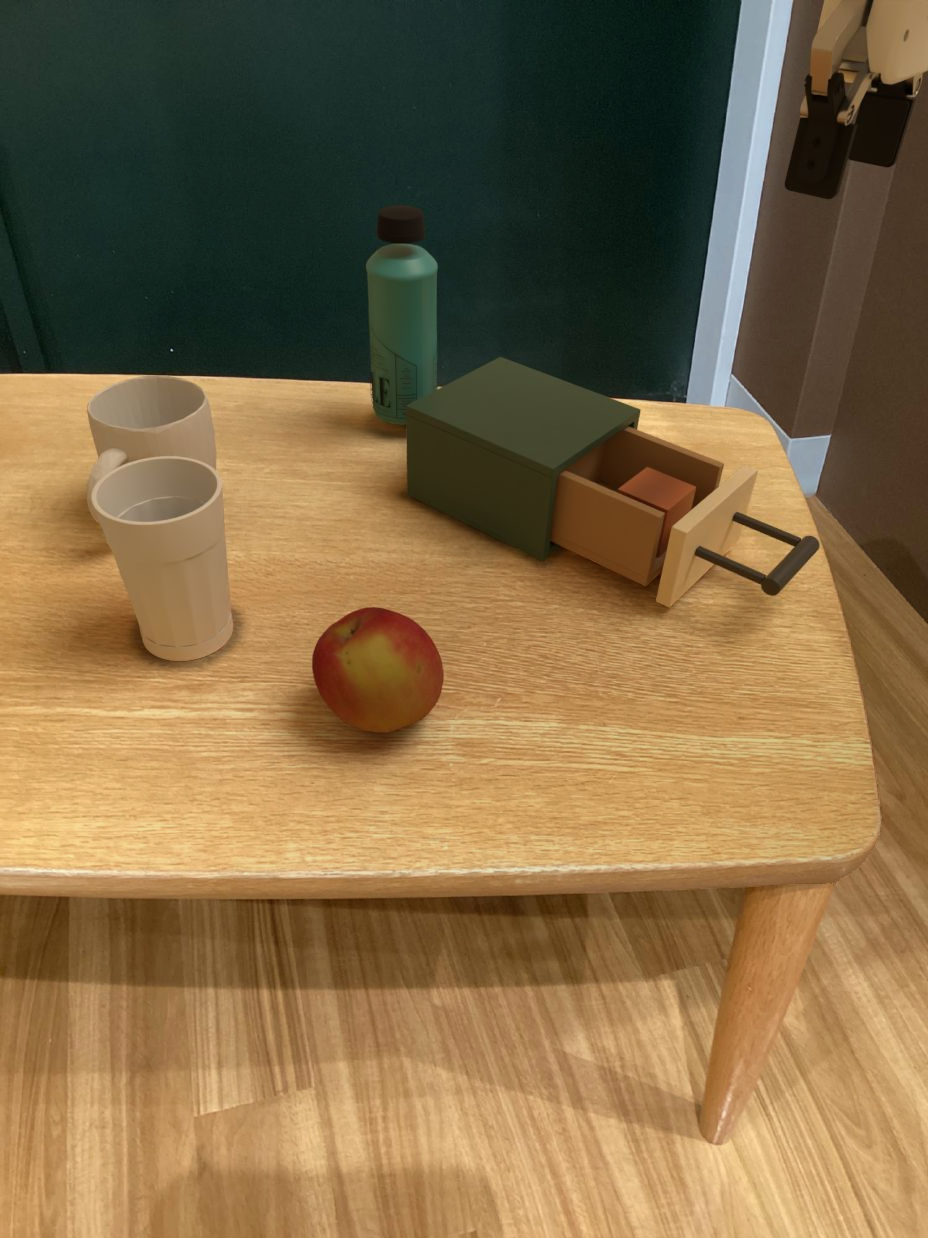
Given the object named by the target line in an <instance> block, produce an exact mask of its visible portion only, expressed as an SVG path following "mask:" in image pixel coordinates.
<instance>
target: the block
mask: <svg viewBox="0 0 928 1238" xmlns="http://www.w3.org/2000/svg"><path fill="white" fill-rule="evenodd" d="M695 491H696V486H693V485H691V484H688V483H686V482H683V481H681V480H678V479H676V478H674V477H671V476H669V475H666V474H664V473H661V472H659V471H656V470H654V469H651V468H649V467H646V468H645V469H644V470H642V471H641V472H640V473H638V474H637V475H636V476H634V477H633V478H632V479H630V480H629V481H628V482H626V483H625V484H624V485H622V486H621V487H620V488H618V491H617V493H619V494H622V495H624V496H626V497H629V498H631V499H633V500H636V501H638V502H640V503H643V504H645V505H647V506H650V507H652V508H654V509H657V510H659V511H661V512H664V513H665V515H664V520H663V525H662V530H661V534H660V539H659V544H658V549H657V554H656V557H660V556H661V555H662V554H663V553H664V552H665V551H666V550H667V547H668V542H669V538H670V533H671V528H672V526H673V525H674V524H676V523H677V522H678V521H679V520H680V519H681V518H683V517H684V516H685V515H686V514H687V513H688V512H690V511H691V508H692V504H693V499H694V495H695Z"/></svg>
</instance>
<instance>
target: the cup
mask: <svg viewBox="0 0 928 1238" xmlns="http://www.w3.org/2000/svg"><path fill="white" fill-rule="evenodd" d="M223 492H224V491H223V479H222V477H221V475H220V474H219V472H218V471H217V469H216V470H215V469H214V468H213V467H211V466H210V465H208V464H206V463H204V462H201V461H199V460H196V459H192V458H186V457H178V456H160V457H151V458H145V459H141V460H137V461H133V462H130V463H127V464H124V465H122V466H120V467H118V468H116V469H114V470H112V471H110V472H109V473H107V474H106V475H105V476H103V477H102V478H101V479H100V480H99V481H98V482H97V483H96V485H95V486H94V488H93V490H92V494H91V501H92V504H93V507H94V510H95V512H96V515H97V517H98V520H99V522H100V524H99V525H100V527H101V530H102V532H103V535H104V537H105V540H106V543H107V545H108V547H109V548H110V550H111V553H112V556H113V557H114V560H115V563H116V566H117V569H118V572H119V575H120V576H121V579H122V582H123V585H124V588H125V591H126V593H127V596H128V598H129V601H130V604H131V606H132V609H133V612H134V614H135V618H136V620H137V622H138V627H139V632H140V636H141V639H142V643H143V646H144V647H145V649H146V650H147V651H148V652H149V653H150V654H152V655H153V656H155V657H157V658H159V659H161V660H166V661H172V662H188V661H193V660H198V659H201V658H205V657H208V656H209V655H211V654H212V655H213V653H216V652H217V651H218V650H220V649H221V648H222V647H224V646H225V645H226V644H227V643H228V641H229V640H230V638H231V636H232V635H233V632H234V620H233V616H232V608H231V606H232V605H231V594H230V593H231V592H230V581H229V567H228V553H227V552H228V551H227V539H226V528H225V526H226V525H225V512H224V511H225V510H224V494H223Z"/></svg>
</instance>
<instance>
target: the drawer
mask: <svg viewBox="0 0 928 1238" xmlns="http://www.w3.org/2000/svg"><path fill="white" fill-rule="evenodd" d="M724 466H725V463H724V462H721V461H718V460H716V459H713V458H712V457H709V456H706V455H704V454H701V453H699V452H696V451H693V450H690V449H688V448H685V447H683V446H680V445H679V444H675V443H672V442H670V441H667V440H664V439H662V438H660V437H657V436H654V435H652V434H649V433H646V432H644V431H641V430H639V429H637V430H636V429H634V428H631V427H629V426H627V427H625V428H624V429H622V430H621V431H619V432H618V433H616V434H615V435H614V436H612V437H611V438H609V439H608V440H606V441H605V442H603V443H602V444H600V445H599V446H598V447H596V448H595V449H593V450H592V451H590V452H589V453H587V454H586V455H584V456H583V457H582V458H580V459H579V460H577V461H576V462H574V463H573V464H571V465H570V466H568V467H567V468H566V469H564V470H563V471H561V472H560V473H558V476H557V485H556V494H555V503H554V512H553V521H552V529H551V538H550V541H552V542H554V543H556V544H558V545H560V546H562V547H561V548H564V549H566V550H568V551H570V552H573V553H575V554H577V555H579V556H580V557H583V558H585V559H587V560H590V561H591V562H593V563H595V564H598V565H600V566H602V567H604V568H605V569H608V570H610V571H612V572H615V573H616V574H618V575H620V576H622V577H625V578H627V579H629V580H631V581H633V582H635V583H638V584H640V585H642V586H643V587H647V586H648V585H649V584H650V583H651V582H653V580H655V579H656V578H657V577H658V576H659V575H660V574H661V575H660V579H659V585H658V590H657V594H656V599H655V601H656V603H659V604H660V605H662V606H665V607H667V608H671V607H672V606H673V605H674V604H675V603H676V602H677V601H678V600H679V599H681V597H682V596H683V595H684V594H685V593H686V592H687V591H689V589H690V588H691V587H692V586H694V585H695V584H696V583H697V582H698V581H699V580H700V579H701V578H702V577H703V576H704V575H705V574H706V573H708V571H709V570H710V569H712V567H713V566H714V565H715V566H717V567H720V568H722V569H724V570H726V571H728V572H731V573H733V574H736V575H737V576H740V577H742V578H744V579H747V580H749V581H751V582H753V583H755V584H758V585H760V588H761V591H762V592H763V593H764V594H765V595H767V596H771V597H774V596H777V595H779V594H780V593H781V591H782V590H783V589H784V588H785V587H786V586H787V585H788V583H790V582H791V580H793V578H794V577H795V576H796V575H797V574H798V573H800V571H801V569H803V567H804V566H805V565H806V564H807V563H808V562H809V561H810V560H811V558H812V557H814V555H815V554H816V553H817V552H818V551H819V549H820V547H821V546H820V544H821V543H820V541H819V539H818V538H817V537H815V536H813V535H805V536H804V537H802V538H801V537H800V536H797V535H795V534H792V533H791V532H788V531H785V530H783V529H780V528H778V527H775V526H774V525H770V524H769V523H766V522H763V521H761V520H759V519H757V518H753V517H751V516H749V515H747V513H748V509H749V505H750V501H751V497H752V494H753V491H754V486H755V484H756V479H757V477H758V472H759V469H758V468H756V467H753V466H751V465H748V464H745V463H744V464H743V465H742V466H741V467H739V468H738V469H737V470H736V471H735V472H733V473H732V474H731V475H730V476H729V477H728V478H726V480H724V481H723V482H722V483H721V479H722V475H723V471H724ZM646 467H649V468H651V469H654V470H656V471H659V472H661V473H664V474H666V475H669V476H671V477H674V478H676V479H678V480H681V481H683V482H686V483H688V484H691V485H693V486H696V491H695V495H694V499H693V504H692V508H691V511H690V512H688V513H687V514H686V515H685V516H684V517H683V518H681V519H680V520H679V521H678V522H677V523H676V524H674V525H673V526H672V528H671V533H670V538H669V542H668V547H667V550H666V551H665V552H664V553H663V554H662V555H661V556H660V557H656V554H657V549H658V544H659V539H660V534H661V530H662V525H663V520H664V515H665V513H664V512H661V511H659V510H657V509H654V508H652V507H650V506H647V505H645V504H643V503H640V502H638V501H636V500H633V499H631V498H629V497H626V496H624V495H622V494H619V493H617V491H618V488H620V487H621V486H622V485H624V484H625V483H626V482H628V481H629V480H630V479H632V478H633V477H634V476H636V475H637V474H638V473H640V472H641V471H642V470H644V469H645V468H646ZM720 483H721V484H720ZM743 527H746V528H749V529H751V530H753V531H756V532H758V533H761V534H763V535H765V536H768V537H770V538H772V539H775V540H777V541H780V542H783V543H785V544H787V545H789V546H792V547H793V548H792V549H791V550H790V551H789V552H788V553H787V554H786V555H785V556H784V557H783V558H782V560H780V561H779V562H778V563H777V564H776V565H775V567H774V568H773V569H772V570H771V571H770V572H769V573H768V574H765V573H763V572H761V571H758V570H756V569H753V568H752V567H749V566H747V565H745V564H742V563H741V562H738V561H735V560H733V559H731V558H729V557H726V556H725V555H726V554H727V553H728V552H729V551H730V550H731V549H732V548H733V547H734V546H735V545H736V544H737V543H738V542H739V541H740V538H741V535H742V531H743Z"/></svg>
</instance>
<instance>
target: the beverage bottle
mask: <svg viewBox="0 0 928 1238" xmlns="http://www.w3.org/2000/svg"><path fill="white" fill-rule="evenodd" d="M376 237H377V239H379V240H380V241H381V242H386V243H391V244H385V245H383V246H381V247H379V248H378V249H377V250H375V252H374V253H373V254H371V256H370V257H369V258H368V260H367V261H366V264H365V271H366V275H367V294H368V295H367V297H368V302H367V303H366V304H367V305H368V315H367V316H366V317H367V318H368V319H367V320H366V322H367V324H368V327H369V329H368V330H369V351H370V352H369V353H370V356H369V358H368V359H369V362H370V364H369V367H368V369H369V372H370V379H369V380H370V381H369V389H370V391H371V393H370V396H371V398H370V402H371V404H372V409H373V410H374V414H375V415H376V416H377V417H378V418H379V419H380V420H382V421H384V422H386V423H390V424H395V425H402V426H404V425H405V426H406V406H407V405H408V404H410V403H412V402H414V401H416V400H418V399H420V398H422V397H424V396H426V395H428V394H430V393H432V392H434V391H435V390H437V389H439V388H440V387H439V382H438V381H439V376H438V373H439V368H438V366H439V361H438V358H439V356H438V351H439V350H438V349H439V348H438V346H439V343H438V338H439V335H438V333H439V331H438V327H437V326H438V325H437V324H438V321H437V320H438V319H437V318H438V317H437V316H438V315H437V309H438V307H437V306H438V305H437V303H438V302H437V300H438V297H437V295H438V290H437V289H438V269H439V265H438V262H437V261H436V259H435V258H434V256H432V255H431V254H430V253H429V252H428V250H426V249H425V248H424V247H422V246H420V245H416V244H415V243H418V242H421V241H423V240H425V238H426V226H425V214H424V212H423V210H421V209H420V208H418V207H414V206H410V205H401V204H400V205H389V206H385V207H383V208H381V209H379V210H378V213H377V224H376Z"/></svg>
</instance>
